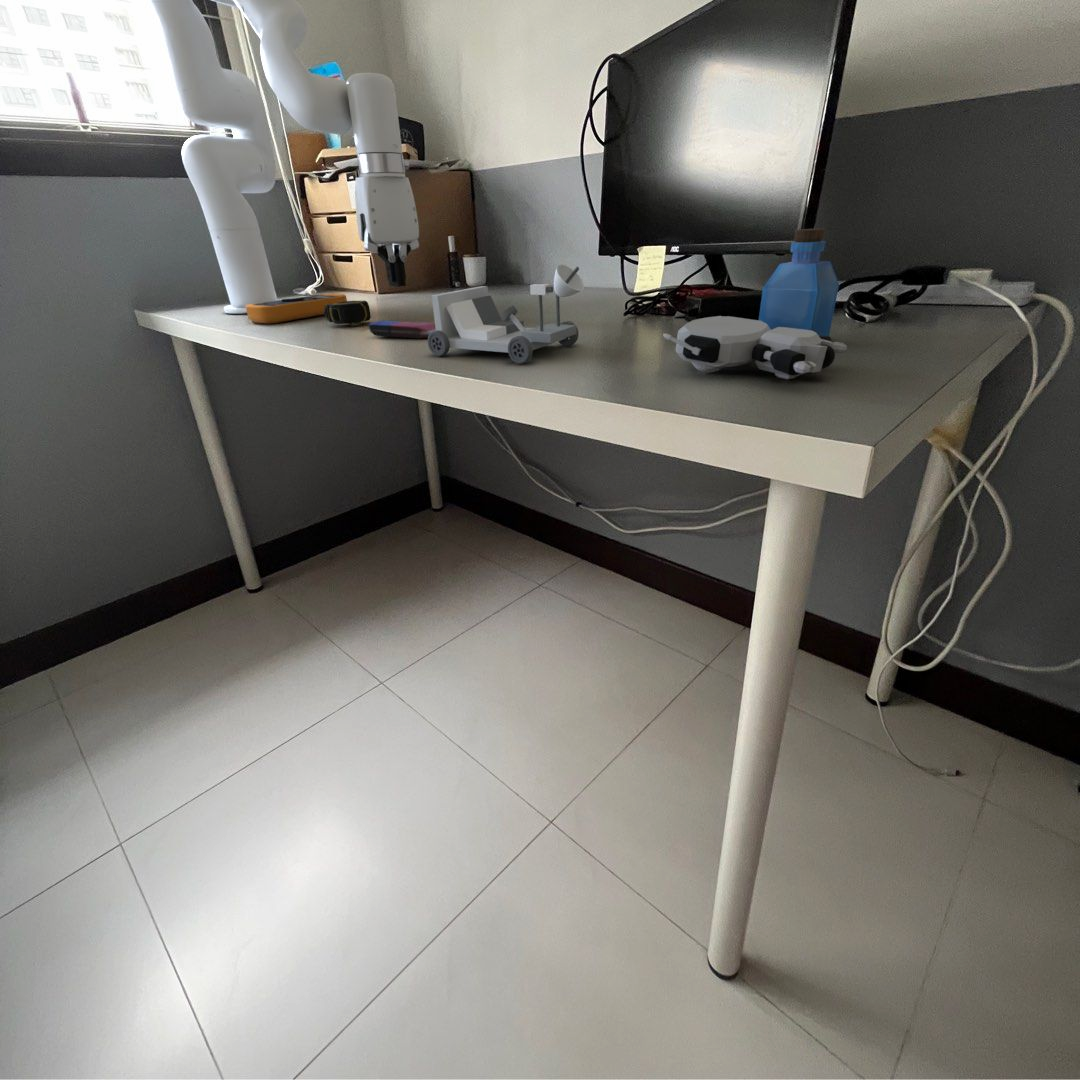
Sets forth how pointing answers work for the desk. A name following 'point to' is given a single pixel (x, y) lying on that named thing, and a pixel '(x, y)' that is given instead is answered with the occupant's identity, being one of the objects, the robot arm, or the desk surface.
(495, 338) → the toy car
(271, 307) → the multimeter
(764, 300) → the perfume bottle
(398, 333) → the eraser
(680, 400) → the desk surface
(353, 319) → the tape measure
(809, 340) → the robot toy
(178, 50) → the robot arm
